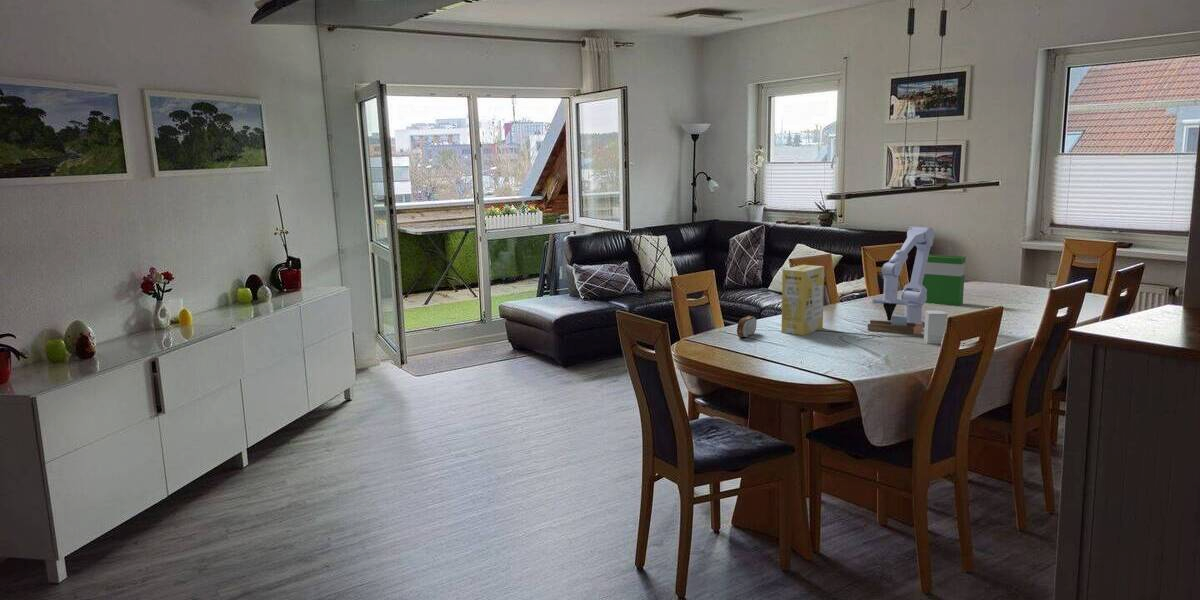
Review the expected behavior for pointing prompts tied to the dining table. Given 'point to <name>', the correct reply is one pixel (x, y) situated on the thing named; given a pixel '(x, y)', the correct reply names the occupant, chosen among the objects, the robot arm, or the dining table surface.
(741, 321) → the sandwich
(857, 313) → the dining table surface
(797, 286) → the pasta box
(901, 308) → the dining table surface
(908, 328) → the brown wooden rails
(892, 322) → the block
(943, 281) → the hardback book
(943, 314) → the supplement box
